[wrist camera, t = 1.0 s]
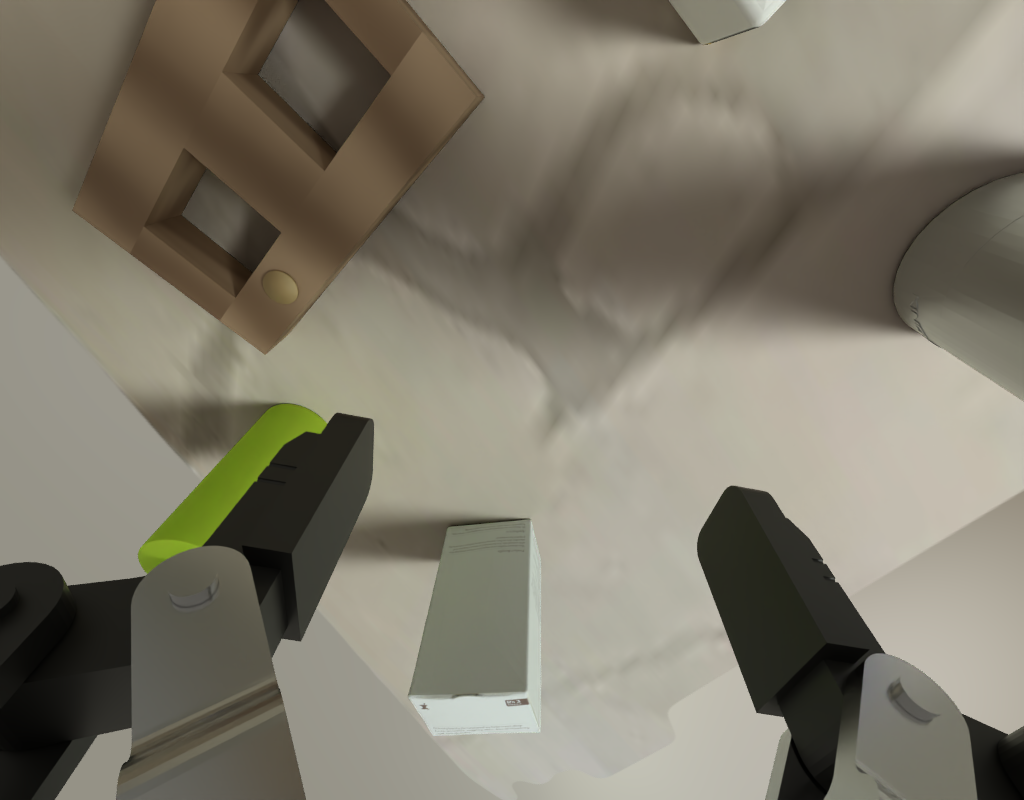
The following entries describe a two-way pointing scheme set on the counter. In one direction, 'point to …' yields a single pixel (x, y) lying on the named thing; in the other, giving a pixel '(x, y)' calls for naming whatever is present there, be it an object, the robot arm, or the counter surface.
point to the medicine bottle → (724, 16)
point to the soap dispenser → (227, 483)
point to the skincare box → (483, 634)
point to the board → (263, 152)
